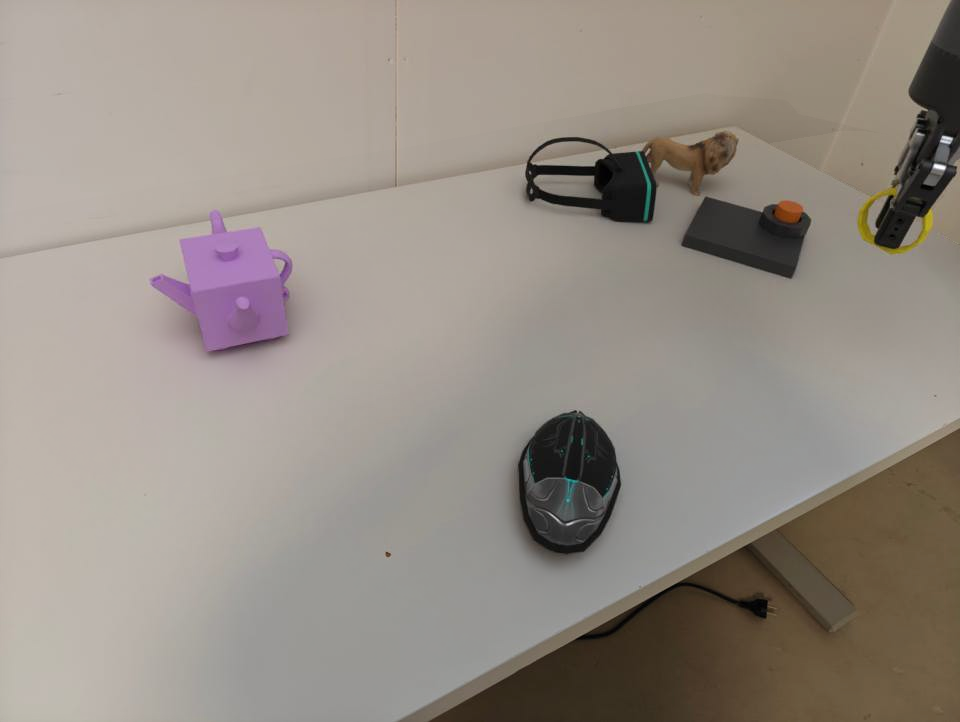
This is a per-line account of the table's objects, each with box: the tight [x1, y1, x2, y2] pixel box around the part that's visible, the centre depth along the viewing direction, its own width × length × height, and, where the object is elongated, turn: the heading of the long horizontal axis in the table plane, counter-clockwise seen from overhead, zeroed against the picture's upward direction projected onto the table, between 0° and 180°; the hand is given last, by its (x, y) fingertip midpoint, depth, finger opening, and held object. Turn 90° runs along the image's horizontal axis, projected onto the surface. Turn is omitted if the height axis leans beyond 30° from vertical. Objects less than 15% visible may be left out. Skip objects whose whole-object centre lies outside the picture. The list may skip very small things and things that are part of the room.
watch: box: [856, 184, 934, 255], centre depth 64 cm, size 6×3×6 cm, turn 41°
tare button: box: [774, 199, 804, 223], centre depth 90 cm, size 3×3×2 cm
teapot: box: [149, 209, 293, 352], centre depth 68 cm, size 18×13×10 cm
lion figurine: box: [641, 130, 740, 197], centre depth 100 cm, size 15×5×9 cm, turn 79°
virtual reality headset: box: [524, 136, 658, 222], centre depth 94 cm, size 11×17×10 cm, turn 89°
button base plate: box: [681, 196, 812, 280], centre depth 91 cm, size 14×13×4 cm
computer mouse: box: [517, 409, 622, 555], centre depth 57 cm, size 9×17×6 cm, turn 168°
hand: (885, 236), depth 65 cm, fingers closed on watch, 2 cm apart
